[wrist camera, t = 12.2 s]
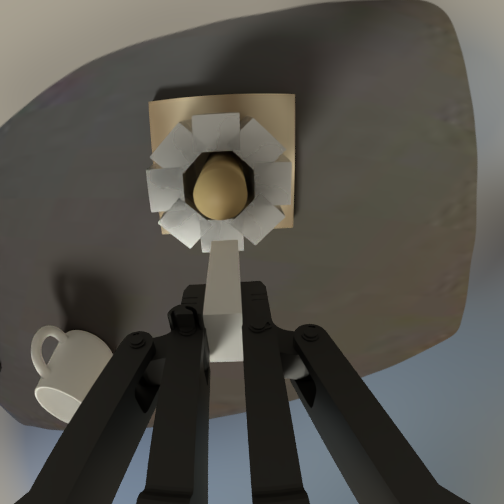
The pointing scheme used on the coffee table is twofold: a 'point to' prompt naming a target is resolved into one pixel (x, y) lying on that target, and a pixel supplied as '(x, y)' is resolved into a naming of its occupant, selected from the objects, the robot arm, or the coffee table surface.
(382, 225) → the coffee table surface
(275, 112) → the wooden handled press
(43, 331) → the mug
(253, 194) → the studded hollow tube
